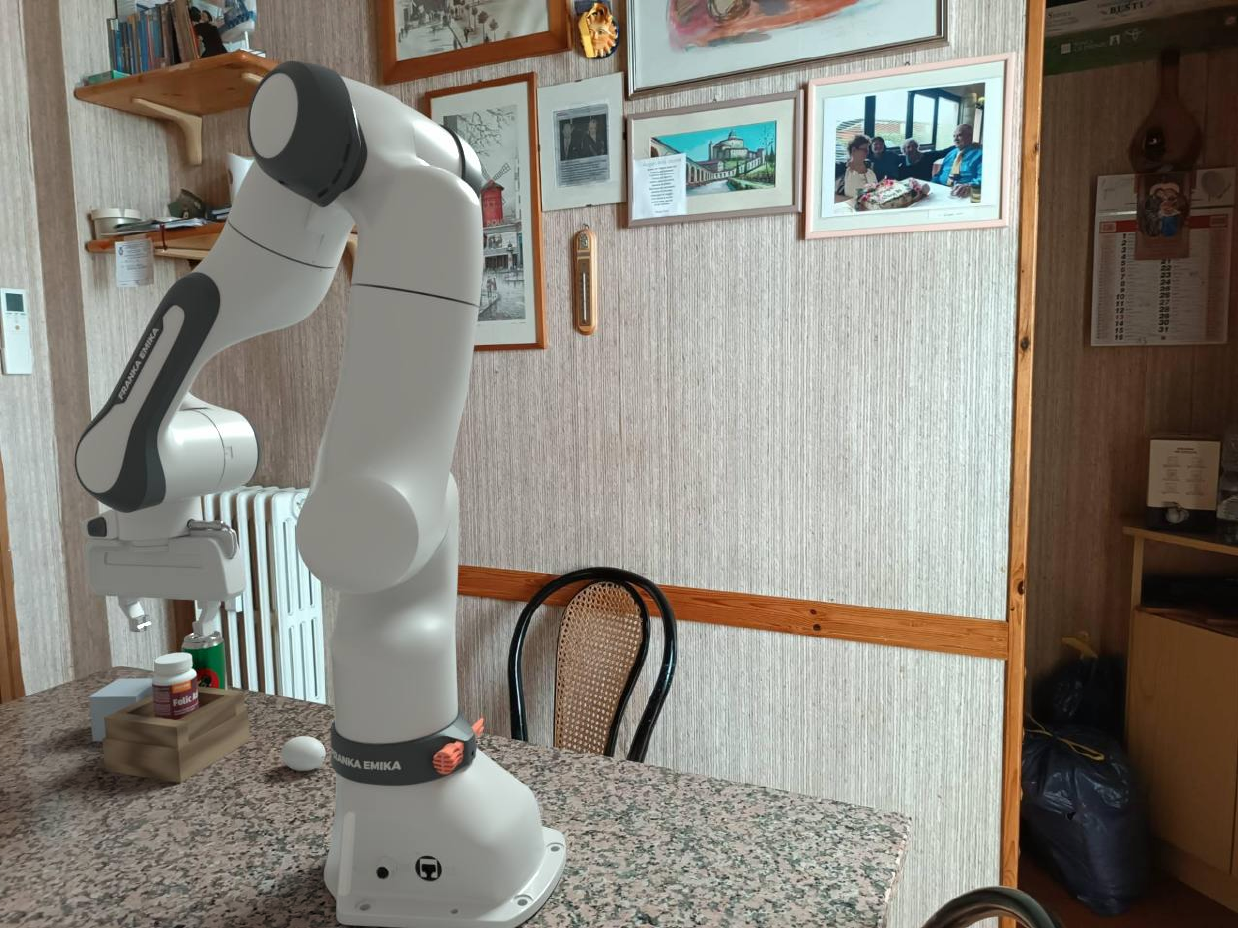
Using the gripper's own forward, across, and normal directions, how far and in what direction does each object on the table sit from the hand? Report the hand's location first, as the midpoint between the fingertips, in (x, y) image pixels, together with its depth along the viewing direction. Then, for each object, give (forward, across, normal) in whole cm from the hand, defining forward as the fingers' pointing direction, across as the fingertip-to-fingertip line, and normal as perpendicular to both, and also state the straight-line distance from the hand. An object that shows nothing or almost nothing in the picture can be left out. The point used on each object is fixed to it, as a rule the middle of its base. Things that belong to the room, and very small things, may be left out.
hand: (172, 632), depth 96 cm
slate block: (+15, +13, -4) cm, 20 cm away
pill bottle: (+12, 0, 0) cm, 12 cm away
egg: (+16, -16, -1) cm, 23 cm away
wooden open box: (+15, +1, 0) cm, 16 cm away
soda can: (+16, +4, -9) cm, 18 cm away
